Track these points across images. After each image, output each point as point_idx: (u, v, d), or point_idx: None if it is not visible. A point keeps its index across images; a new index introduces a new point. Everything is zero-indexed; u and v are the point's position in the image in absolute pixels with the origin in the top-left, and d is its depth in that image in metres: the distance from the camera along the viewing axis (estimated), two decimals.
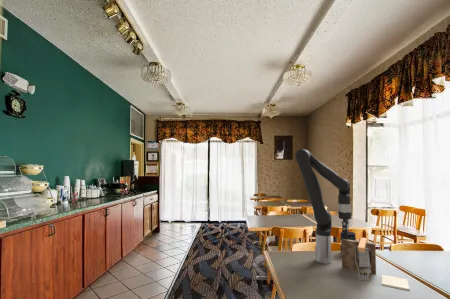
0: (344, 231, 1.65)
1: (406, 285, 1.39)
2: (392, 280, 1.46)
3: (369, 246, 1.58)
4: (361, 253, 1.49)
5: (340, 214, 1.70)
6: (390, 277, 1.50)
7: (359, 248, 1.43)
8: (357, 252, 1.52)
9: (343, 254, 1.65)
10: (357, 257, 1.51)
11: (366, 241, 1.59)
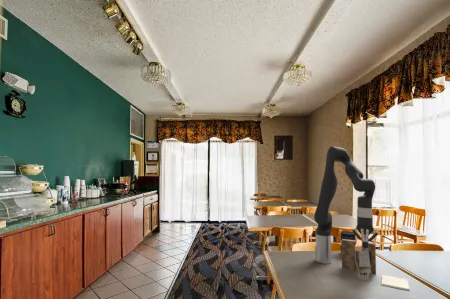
0: (371, 240, 1.45)
1: (406, 285, 1.39)
2: (392, 280, 1.46)
3: (369, 246, 1.58)
4: (361, 253, 1.49)
5: (370, 220, 1.43)
6: (390, 277, 1.50)
7: (356, 248, 1.43)
8: (357, 252, 1.52)
9: (343, 254, 1.65)
10: (357, 257, 1.51)
11: None
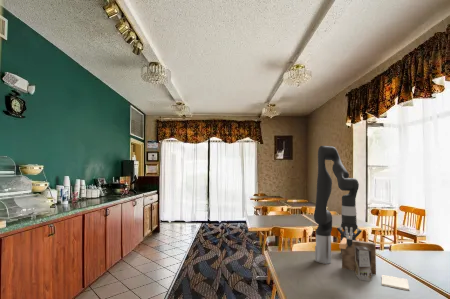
0: (355, 237, 1.48)
1: (406, 285, 1.39)
2: (392, 280, 1.46)
3: (369, 246, 1.58)
4: (361, 253, 1.49)
5: (354, 218, 1.47)
6: (390, 277, 1.50)
7: (340, 245, 1.47)
8: (357, 252, 1.52)
9: (343, 254, 1.65)
10: (357, 257, 1.51)
11: None
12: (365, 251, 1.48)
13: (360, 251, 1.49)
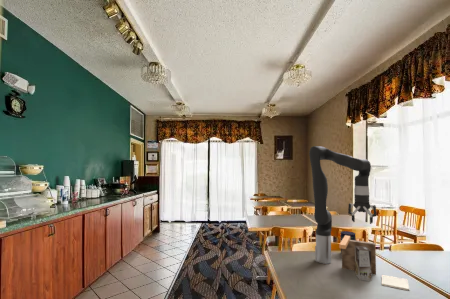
0: None
1: (406, 285, 1.39)
2: (392, 280, 1.46)
3: (369, 246, 1.58)
4: (361, 253, 1.49)
5: (367, 198, 1.51)
6: (390, 277, 1.50)
7: (341, 245, 1.47)
8: (357, 252, 1.52)
9: (343, 254, 1.65)
10: (357, 257, 1.51)
11: (349, 239, 1.64)
12: (365, 251, 1.48)
13: (360, 251, 1.49)
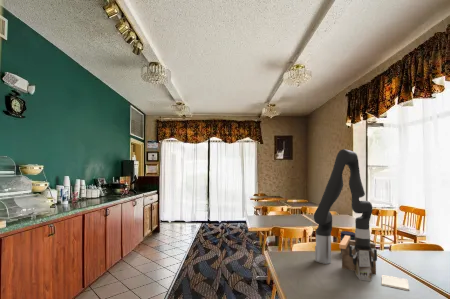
0: (376, 259, 1.49)
1: (406, 285, 1.39)
2: (392, 280, 1.46)
3: None
4: (361, 253, 1.49)
5: (368, 241, 1.49)
6: (390, 277, 1.50)
7: (341, 245, 1.47)
8: (357, 252, 1.52)
9: (343, 254, 1.65)
10: (357, 257, 1.51)
11: (349, 239, 1.64)
12: (365, 251, 1.48)
13: (360, 251, 1.49)
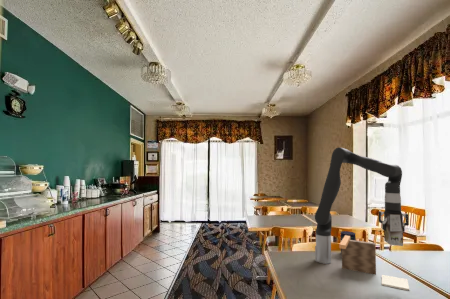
0: None
1: (406, 285, 1.39)
2: (392, 280, 1.46)
3: (369, 246, 1.58)
4: (392, 217, 1.43)
5: (399, 205, 1.44)
6: (390, 277, 1.50)
7: (341, 245, 1.47)
8: (387, 217, 1.46)
9: (343, 254, 1.65)
10: (387, 222, 1.46)
11: (349, 239, 1.64)
12: (396, 215, 1.43)
13: (391, 215, 1.43)
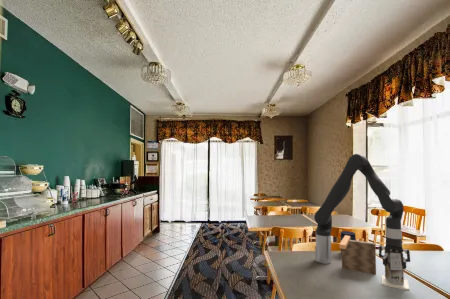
0: None
1: (406, 285, 1.39)
2: None
3: (369, 246, 1.58)
4: (392, 256, 1.42)
5: (400, 241, 1.43)
6: None
7: (341, 245, 1.47)
8: (388, 255, 1.45)
9: (343, 254, 1.65)
10: (388, 260, 1.45)
11: (349, 239, 1.64)
12: (397, 254, 1.42)
13: (391, 254, 1.42)
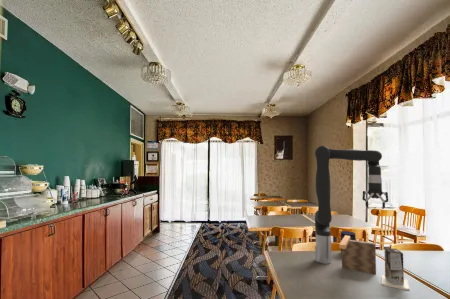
0: None
1: (406, 285, 1.39)
2: None
3: (369, 246, 1.58)
4: (392, 256, 1.42)
5: (380, 185, 1.68)
6: None
7: (341, 245, 1.47)
8: (388, 255, 1.45)
9: (343, 254, 1.65)
10: (388, 260, 1.45)
11: (349, 239, 1.64)
12: (397, 254, 1.42)
13: (391, 254, 1.42)
